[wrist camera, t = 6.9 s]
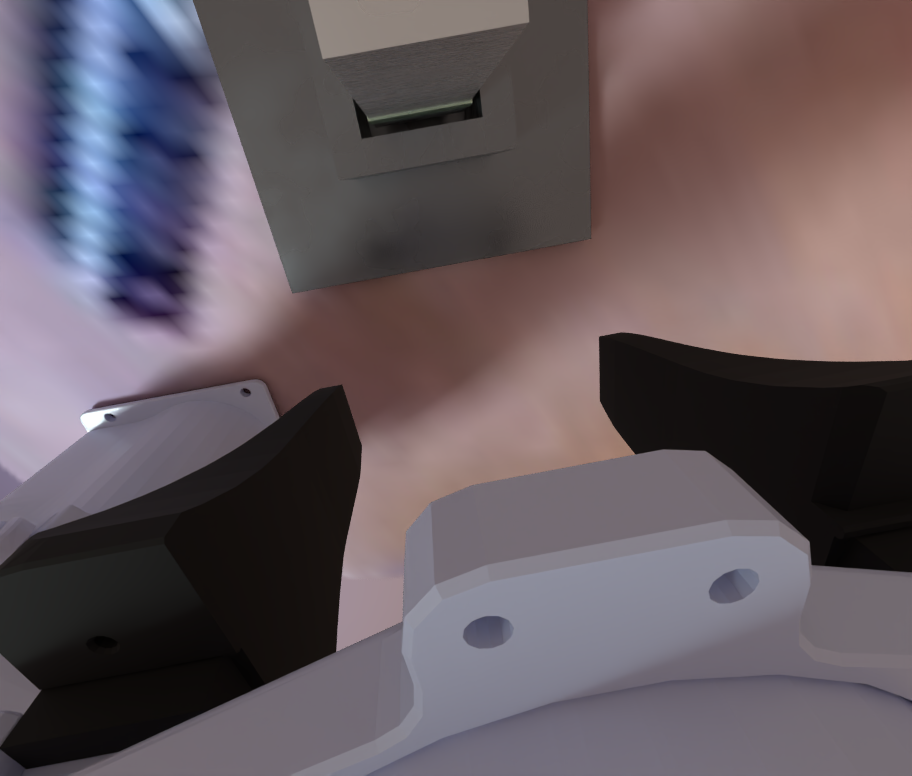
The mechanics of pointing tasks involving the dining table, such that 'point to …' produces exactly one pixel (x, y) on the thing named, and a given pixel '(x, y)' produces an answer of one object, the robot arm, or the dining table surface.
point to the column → (415, 51)
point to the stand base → (406, 149)
